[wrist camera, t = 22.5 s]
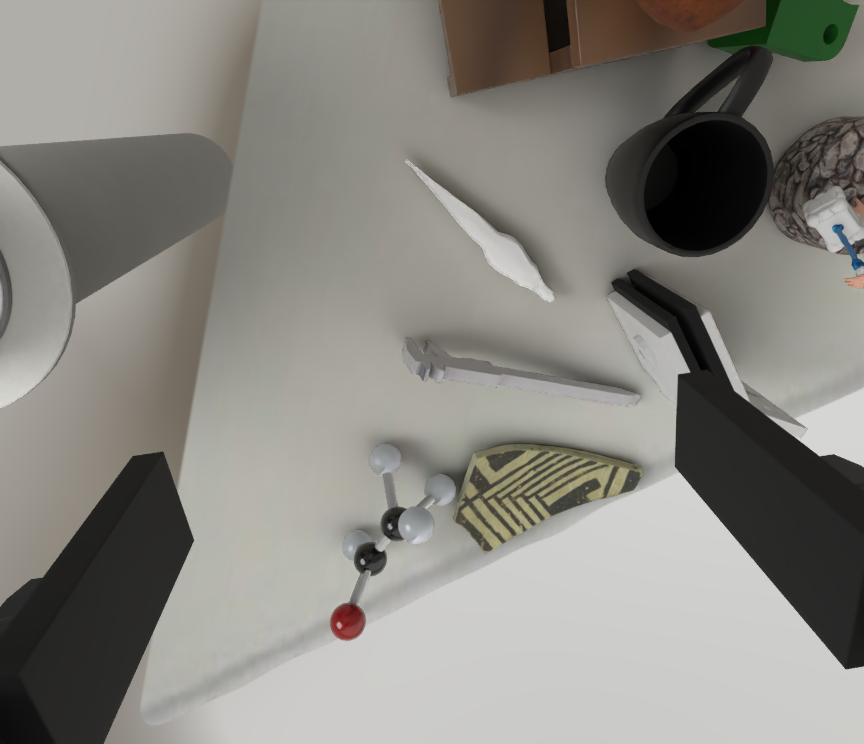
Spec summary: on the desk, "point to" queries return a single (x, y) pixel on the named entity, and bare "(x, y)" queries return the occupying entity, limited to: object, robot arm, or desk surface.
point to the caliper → (504, 376)
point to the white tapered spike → (492, 241)
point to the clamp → (797, 30)
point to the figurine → (824, 190)
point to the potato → (687, 12)
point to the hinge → (681, 341)
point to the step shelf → (589, 36)
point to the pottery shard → (533, 488)
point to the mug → (697, 166)
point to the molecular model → (386, 535)
